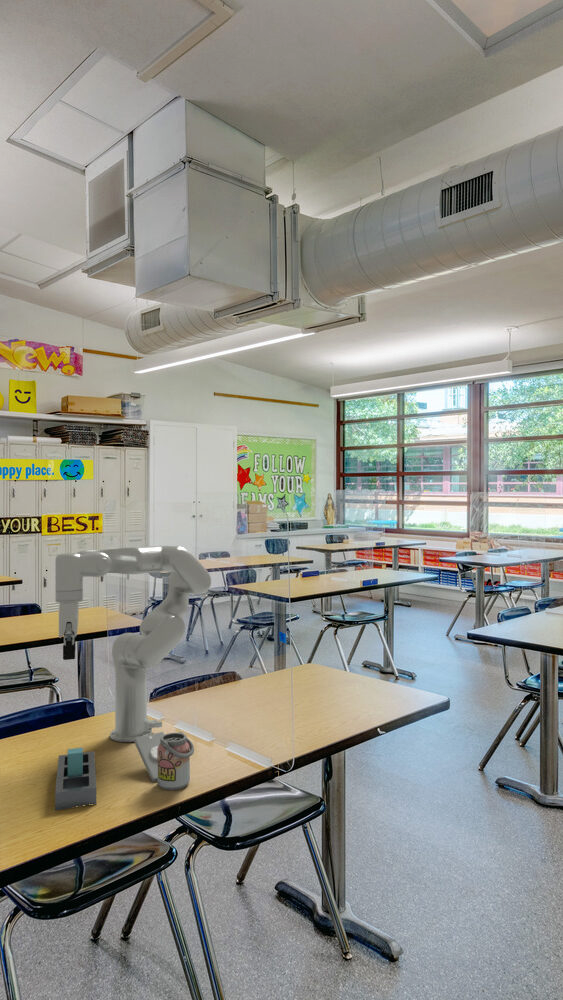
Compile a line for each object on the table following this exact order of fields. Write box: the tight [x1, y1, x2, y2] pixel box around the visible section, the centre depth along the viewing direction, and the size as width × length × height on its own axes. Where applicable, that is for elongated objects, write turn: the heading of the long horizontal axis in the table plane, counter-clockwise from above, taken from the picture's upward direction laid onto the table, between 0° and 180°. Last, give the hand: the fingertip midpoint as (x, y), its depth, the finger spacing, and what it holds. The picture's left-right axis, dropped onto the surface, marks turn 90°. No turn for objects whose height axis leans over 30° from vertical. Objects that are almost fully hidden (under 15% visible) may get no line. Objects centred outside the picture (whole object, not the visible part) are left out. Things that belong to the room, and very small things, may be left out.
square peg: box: [67, 747, 84, 776], centre depth 159 cm, size 4×4×9 cm
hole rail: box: [54, 751, 97, 811], centre depth 159 cm, size 9×24×4 cm, turn 18°
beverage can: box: [157, 731, 195, 791], centre depth 159 cm, size 9×8×12 cm
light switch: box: [134, 731, 165, 783], centre depth 169 cm, size 8×6×14 cm
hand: (69, 655), depth 181 cm, fingers open, 9 cm apart
